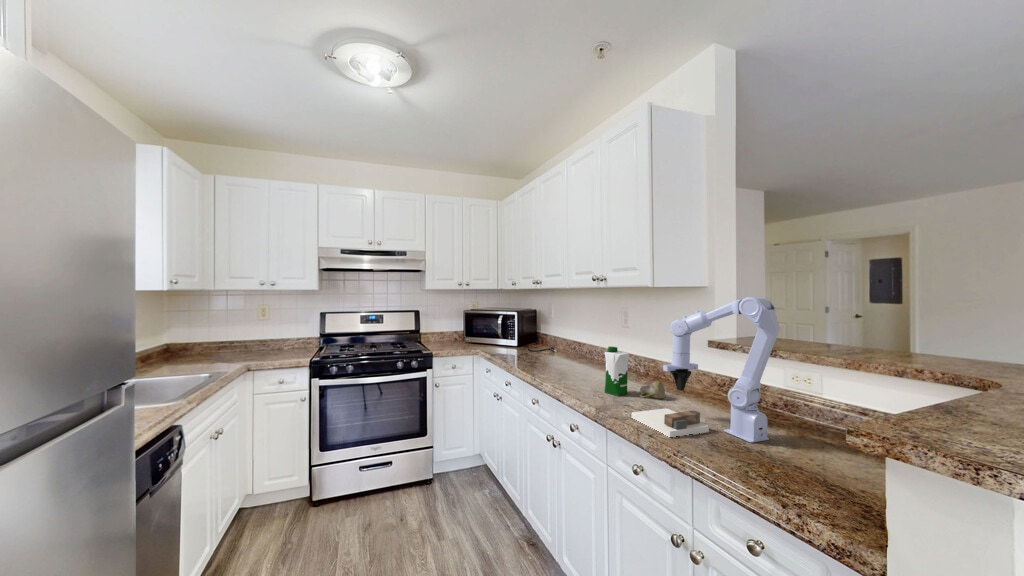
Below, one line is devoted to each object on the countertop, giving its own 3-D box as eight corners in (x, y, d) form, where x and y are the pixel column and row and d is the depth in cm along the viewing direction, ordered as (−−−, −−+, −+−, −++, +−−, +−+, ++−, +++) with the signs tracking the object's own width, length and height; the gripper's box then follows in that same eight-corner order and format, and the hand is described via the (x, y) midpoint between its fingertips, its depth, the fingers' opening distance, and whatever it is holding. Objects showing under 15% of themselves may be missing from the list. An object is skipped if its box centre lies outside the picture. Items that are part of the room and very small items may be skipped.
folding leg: (693, 419, 122) (693, 410, 122) (702, 422, 119) (702, 413, 119) (663, 423, 117) (664, 414, 117) (672, 427, 114) (672, 417, 114)
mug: (641, 393, 161) (653, 375, 160) (659, 408, 154) (672, 389, 153) (633, 391, 156) (646, 373, 155) (651, 407, 149) (665, 387, 148)
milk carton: (612, 389, 165) (613, 345, 165) (630, 393, 159) (631, 348, 159) (601, 392, 160) (602, 347, 160) (619, 397, 153) (620, 350, 153)
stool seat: (708, 432, 117) (709, 418, 117) (669, 438, 111) (670, 423, 111) (667, 413, 133) (667, 401, 133) (631, 418, 128) (631, 405, 128)
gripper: (687, 350, 138) (686, 385, 138) (657, 351, 133) (656, 388, 133) (703, 353, 131) (702, 390, 131) (671, 354, 126) (671, 393, 126)
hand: (680, 389), depth 132 cm, fingers closed
